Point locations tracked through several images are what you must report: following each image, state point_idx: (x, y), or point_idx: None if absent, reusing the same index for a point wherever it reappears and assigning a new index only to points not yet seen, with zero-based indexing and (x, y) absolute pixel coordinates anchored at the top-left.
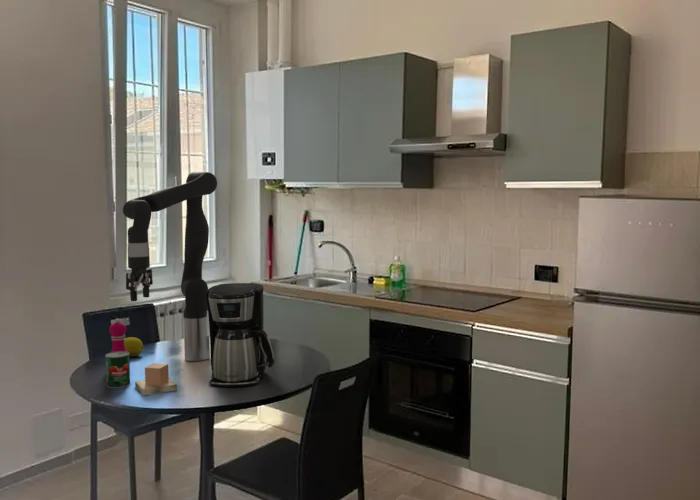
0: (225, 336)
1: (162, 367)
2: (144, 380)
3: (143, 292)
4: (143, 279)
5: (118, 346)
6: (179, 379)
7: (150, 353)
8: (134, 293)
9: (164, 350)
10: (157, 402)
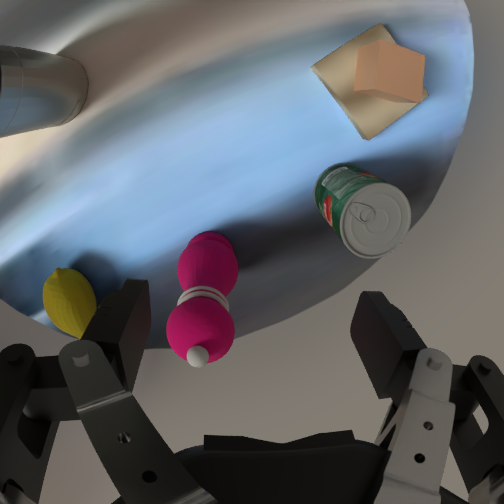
0: None
1: (411, 50)
2: (358, 117)
3: (142, 351)
4: (241, 478)
5: (222, 286)
6: (281, 40)
7: (42, 252)
8: (413, 340)
9: (11, 230)
10: (453, 57)
